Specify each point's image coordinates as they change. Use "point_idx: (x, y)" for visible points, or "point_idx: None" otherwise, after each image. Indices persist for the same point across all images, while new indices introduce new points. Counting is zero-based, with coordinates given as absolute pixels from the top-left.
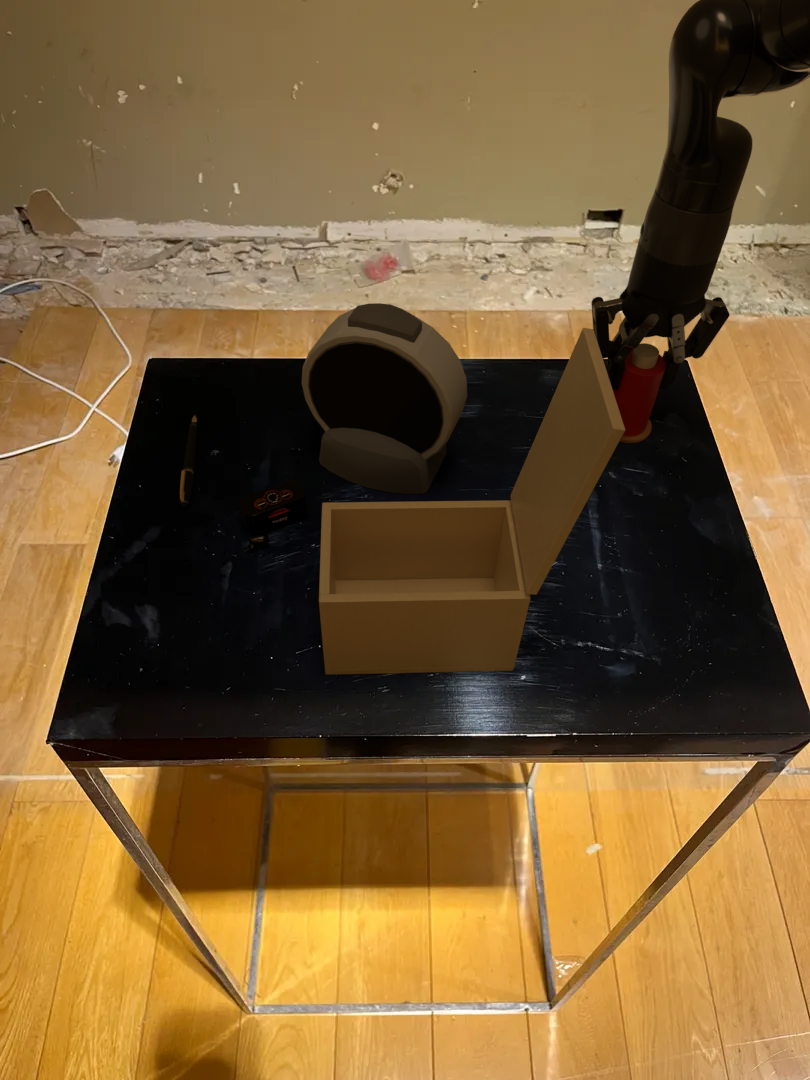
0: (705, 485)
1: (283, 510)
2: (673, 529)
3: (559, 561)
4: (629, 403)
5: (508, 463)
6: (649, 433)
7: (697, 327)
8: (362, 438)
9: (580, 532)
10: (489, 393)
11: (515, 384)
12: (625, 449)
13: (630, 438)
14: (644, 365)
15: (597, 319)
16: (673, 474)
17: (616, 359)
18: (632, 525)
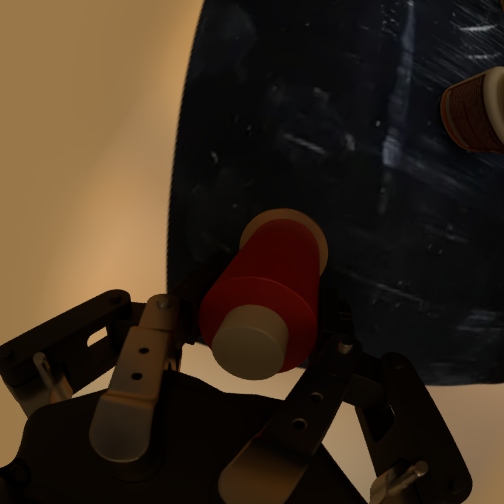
0: (203, 99)
1: None
2: (288, 24)
3: (457, 28)
4: (300, 250)
5: (482, 212)
6: (251, 221)
7: (96, 367)
8: None
9: (427, 52)
10: (436, 346)
11: None
12: (304, 196)
13: (289, 214)
14: (265, 314)
15: (464, 469)
16: (244, 125)
17: (354, 345)
18: (350, 39)
